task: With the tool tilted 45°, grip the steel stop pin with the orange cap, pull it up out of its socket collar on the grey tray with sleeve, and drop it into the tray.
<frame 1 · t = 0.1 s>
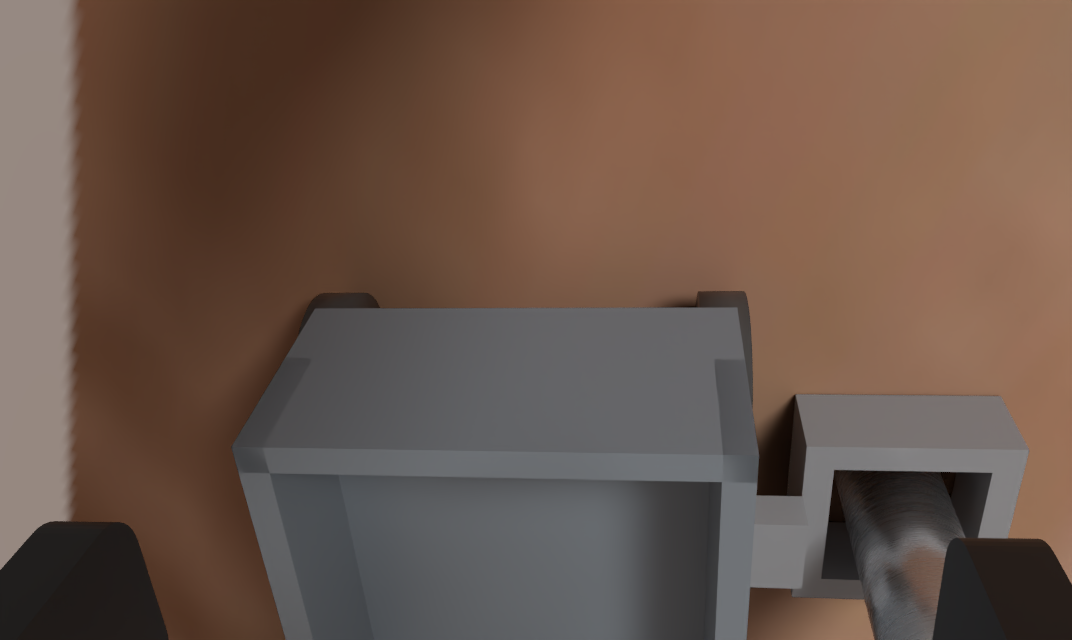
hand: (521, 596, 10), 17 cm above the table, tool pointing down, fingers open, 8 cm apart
grey tray with sleeve: (547, 466, 31), on the table
stop pin: (884, 471, 30), resting in grey tray with sleeve
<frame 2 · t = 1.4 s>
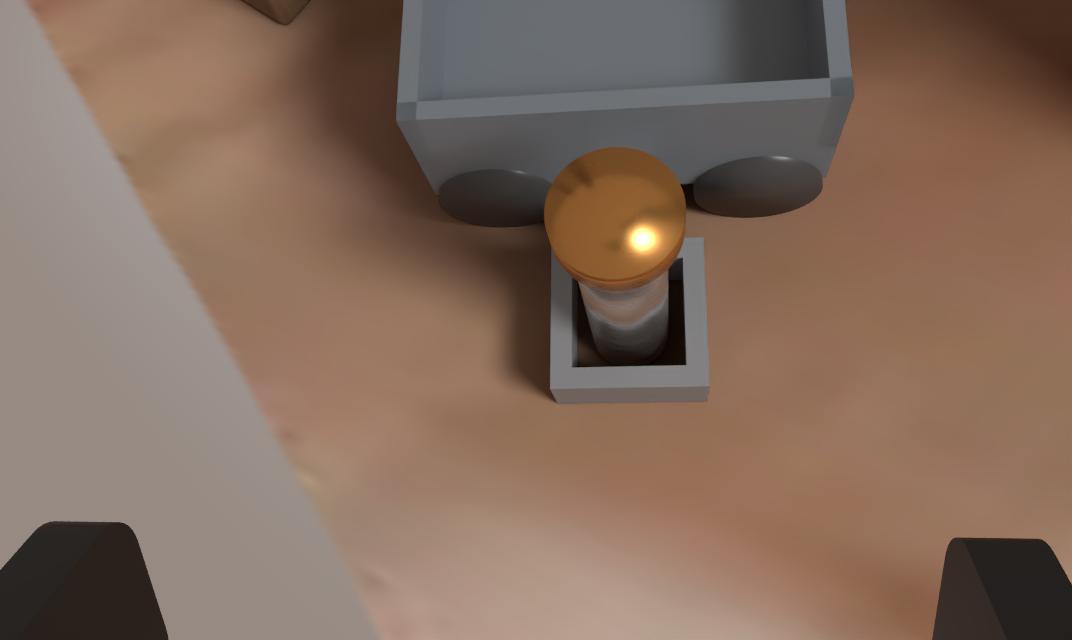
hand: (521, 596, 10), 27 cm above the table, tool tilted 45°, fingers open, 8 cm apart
grey tray with sleeve: (626, 98, 41), on the table
stop pin: (630, 331, 38), resting in grey tray with sleeve
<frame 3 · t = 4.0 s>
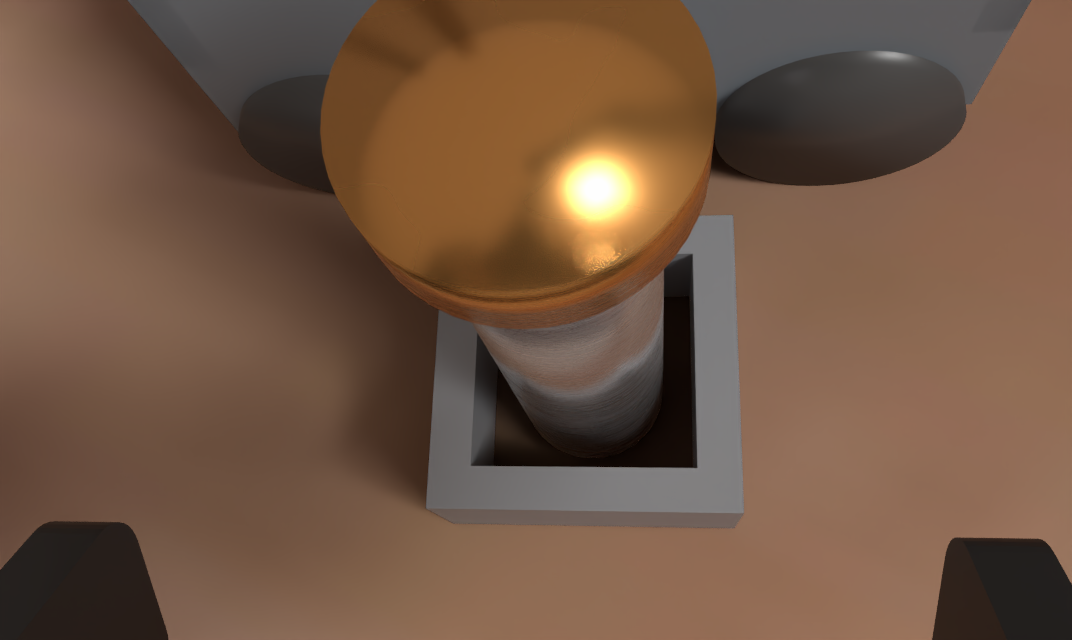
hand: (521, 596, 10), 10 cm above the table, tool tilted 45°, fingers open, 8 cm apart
stop pin: (592, 389, 21), resting in grey tray with sleeve
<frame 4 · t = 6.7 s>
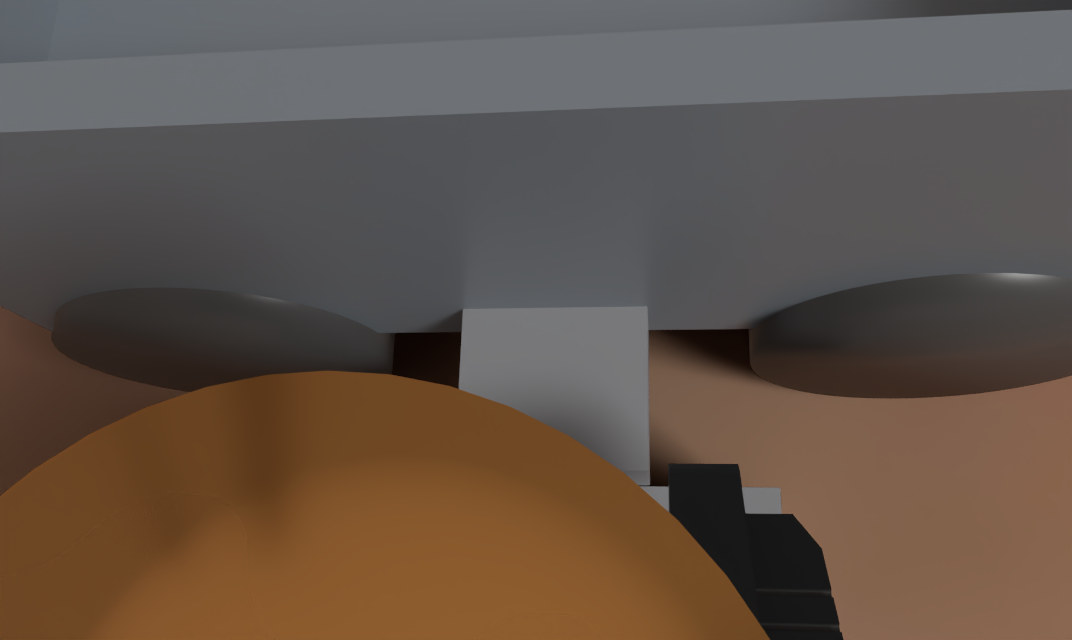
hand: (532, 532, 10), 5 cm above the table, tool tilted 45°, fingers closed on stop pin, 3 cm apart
grey tray with sleeve: (582, 92, 18), on the table
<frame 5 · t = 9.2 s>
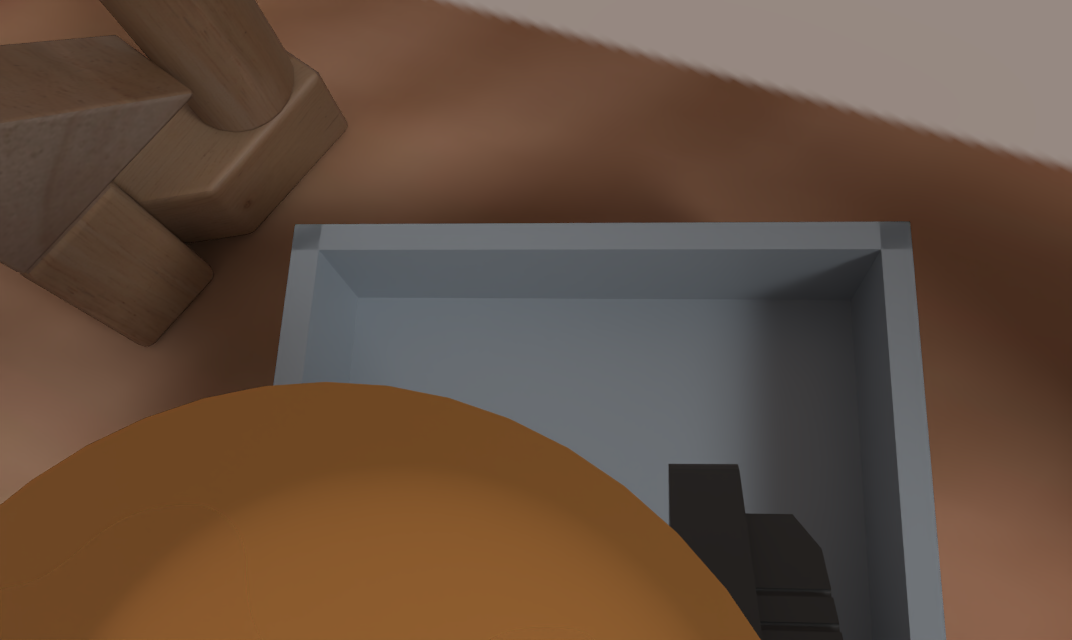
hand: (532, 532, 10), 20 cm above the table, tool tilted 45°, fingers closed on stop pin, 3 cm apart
grey tray with sleeve: (601, 500, 30), on the table
brown wooden stand: (223, 213, 35), on the table
when the fingers open (12 cm above the table, at t = 11.7 s): stop pin drops 2 cm, resting on grey tray with sleeve.
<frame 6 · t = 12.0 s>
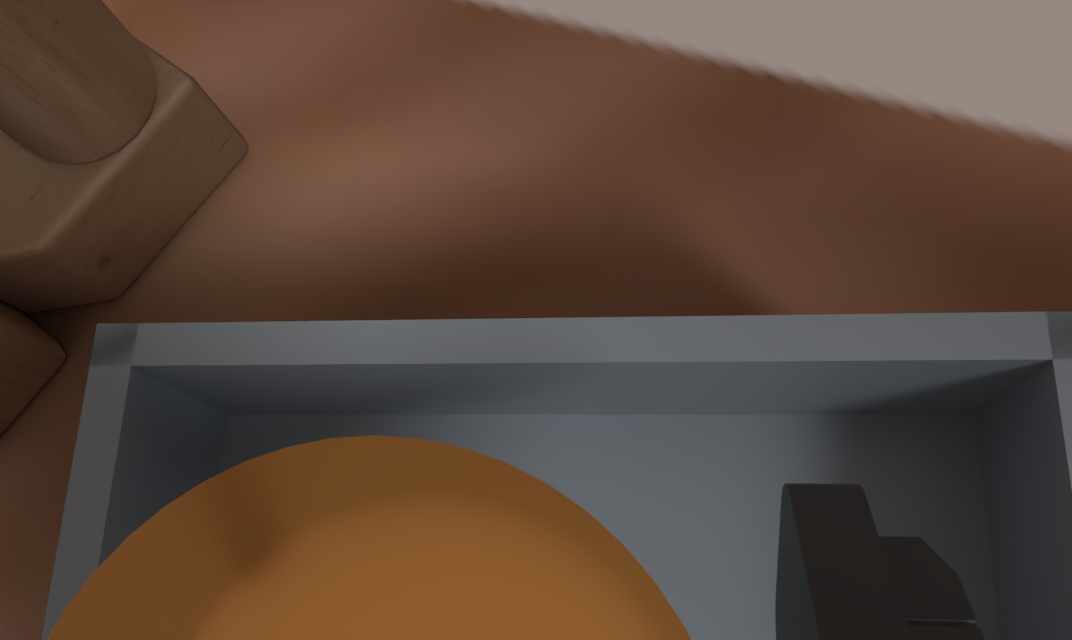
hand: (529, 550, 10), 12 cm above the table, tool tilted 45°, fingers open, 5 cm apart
brown wooden stand: (84, 270, 26), on the table
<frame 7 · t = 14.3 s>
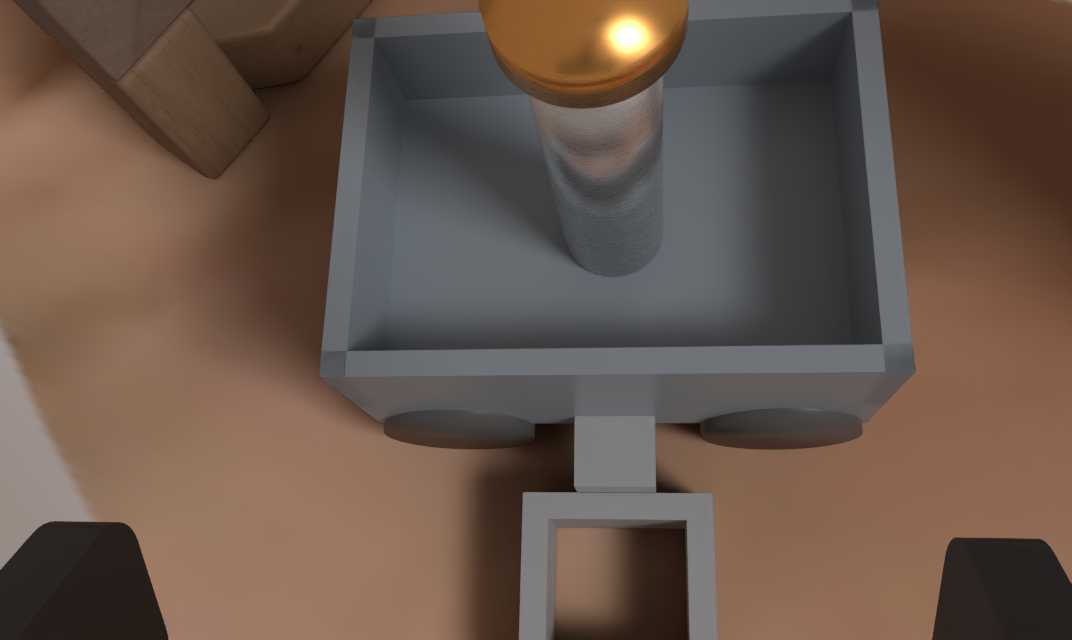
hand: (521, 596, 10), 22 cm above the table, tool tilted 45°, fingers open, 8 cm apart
grey tray with sleeve: (619, 287, 34), on the table
brown wooden stand: (275, 66, 39), on the table
stop pin: (613, 231, 29), point 5 cm above the table, touching grey tray with sleeve
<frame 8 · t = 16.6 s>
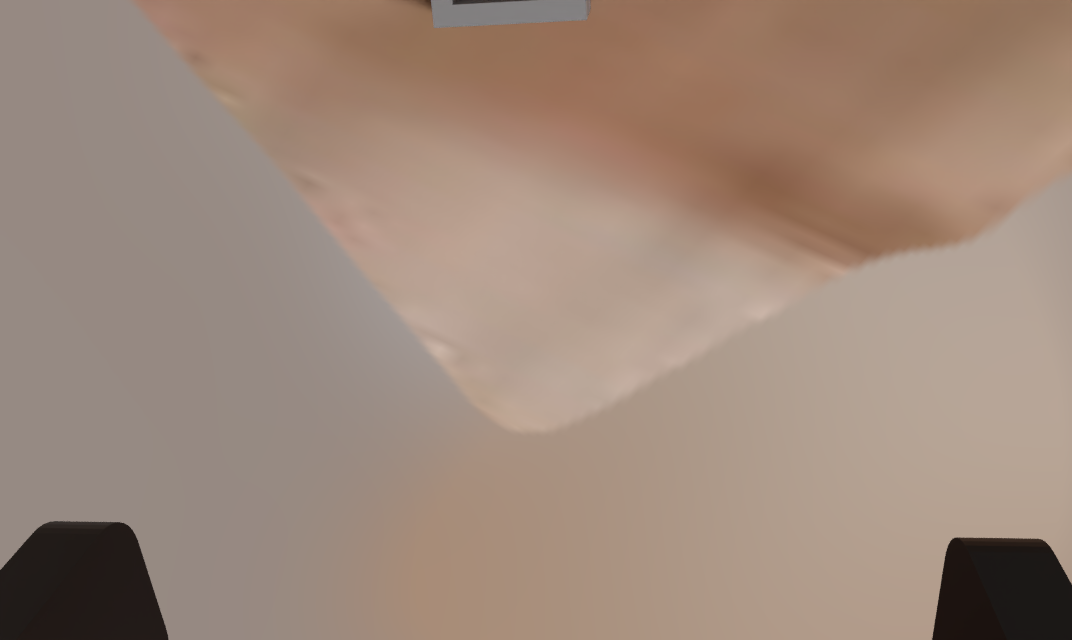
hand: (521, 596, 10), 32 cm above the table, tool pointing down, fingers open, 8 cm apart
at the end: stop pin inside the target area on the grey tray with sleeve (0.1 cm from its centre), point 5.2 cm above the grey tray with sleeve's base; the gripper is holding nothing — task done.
